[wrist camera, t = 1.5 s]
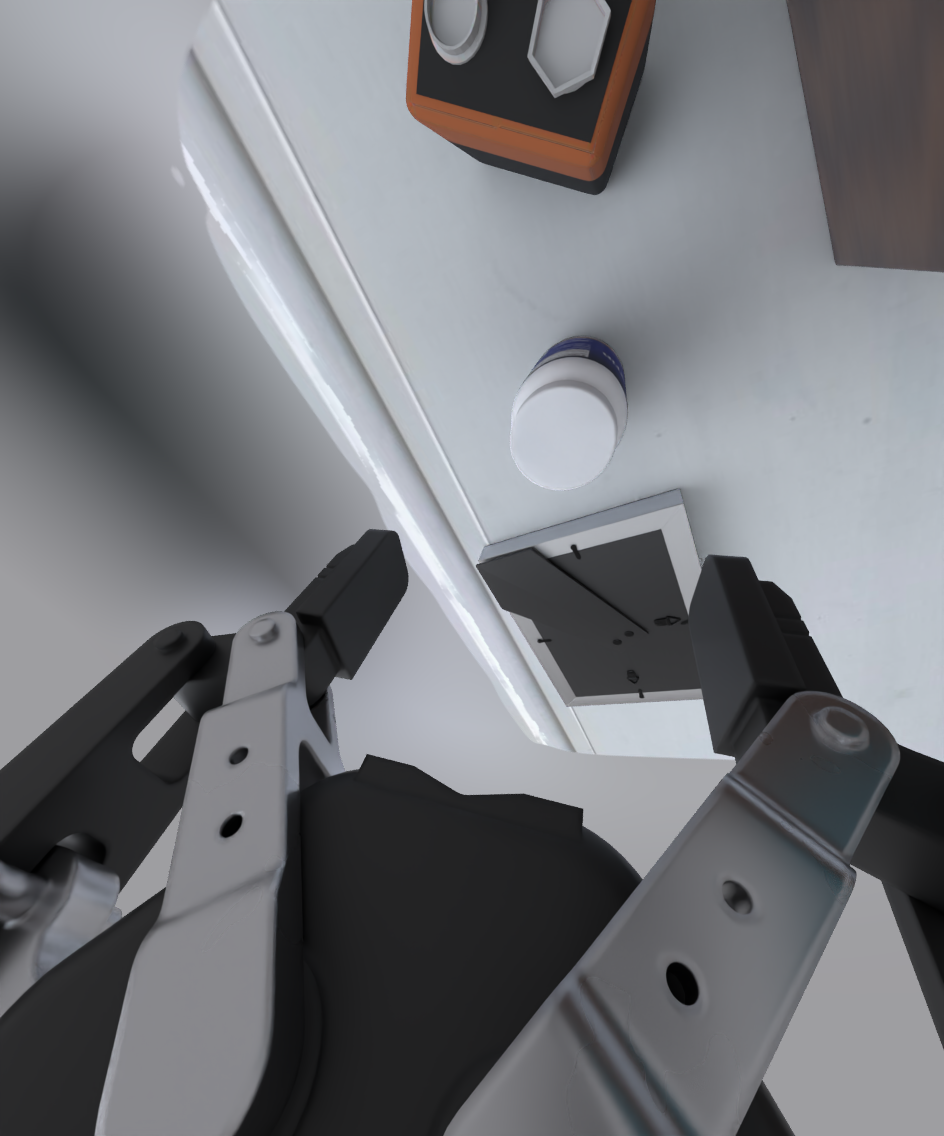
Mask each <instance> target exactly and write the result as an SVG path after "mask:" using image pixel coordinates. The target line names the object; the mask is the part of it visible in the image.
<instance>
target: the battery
mask: <svg viewBox="0 0 944 1136" xmlns="http://www.w3.org/2000/svg"><path fill="white" fill-rule="evenodd" d="M655 4H656V0H412V12H411V27H410V42H409V57H408V73H407V88H406V103H407V107H408V109H409V111H410V113H411V114H412V116H413V117H414V118H415V119H416V120H418V121H419V122H420V123H422V124H423V125H425V126H426V127H428V128H430V129H431V130H433V131H434V132H436V133H437V134H439V135H440V136H442V137H443V138H445V139H446V140H448V141H449V142H451V143H452V144H454V145H455V146H457V147H458V148H460V149H461V150H463V151H464V152H466V153H467V154H469V155H470V156H472V157H473V158H475V159H476V160H478V161H480V162H482V163H485V164H488V165H491V166H494V167H498V168H501V169H505V170H508V171H512V172H515V173H519V174H522V175H525V176H529V177H532V178H536V179H539V180H543V181H546V182H550V183H553V184H556V185H560V186H563V187H567V188H570V189H574V190H577V191H581V192H584V193H588V194H592V195H597V194H600V193H601V192H602V191H603V190H604V189H605V188H606V186H607V183H608V180H609V177H610V174H611V171H612V168H613V165H614V162H615V159H616V156H617V152H618V149H619V146H620V143H621V140H622V137H623V134H624V131H625V128H626V125H627V122H628V119H629V115H630V112H631V109H632V106H633V103H634V100H635V97H636V94H637V91H638V88H639V85H640V81H641V78H642V75H643V72H644V67H645V62H646V56H647V50H648V44H649V39H650V33H651V27H652V21H653V15H654V10H655Z"/></svg>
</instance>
